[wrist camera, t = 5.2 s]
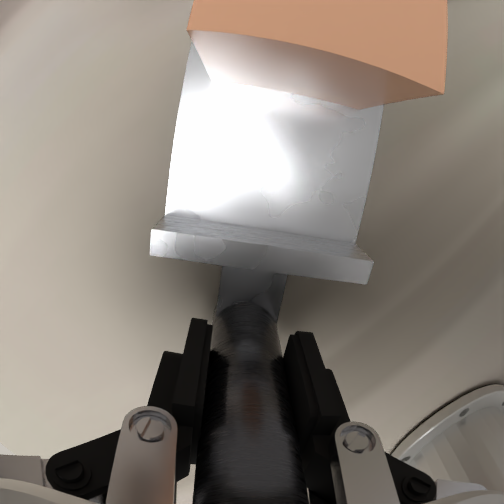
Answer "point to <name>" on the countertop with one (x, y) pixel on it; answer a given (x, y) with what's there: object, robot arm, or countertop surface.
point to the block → (326, 47)
